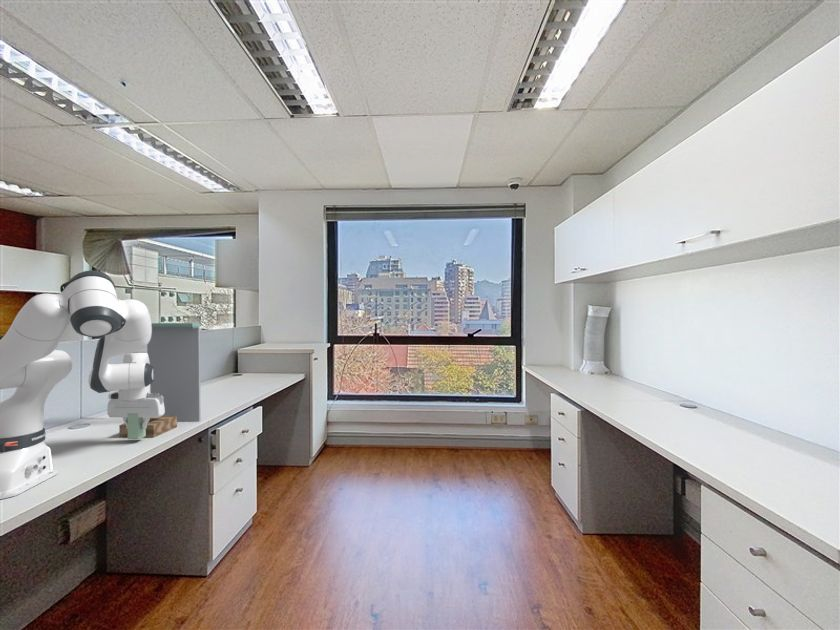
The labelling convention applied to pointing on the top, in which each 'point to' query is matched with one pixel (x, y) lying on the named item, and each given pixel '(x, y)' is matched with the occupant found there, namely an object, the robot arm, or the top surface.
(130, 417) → the peg
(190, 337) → the tall box with lid
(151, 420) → the socket block
